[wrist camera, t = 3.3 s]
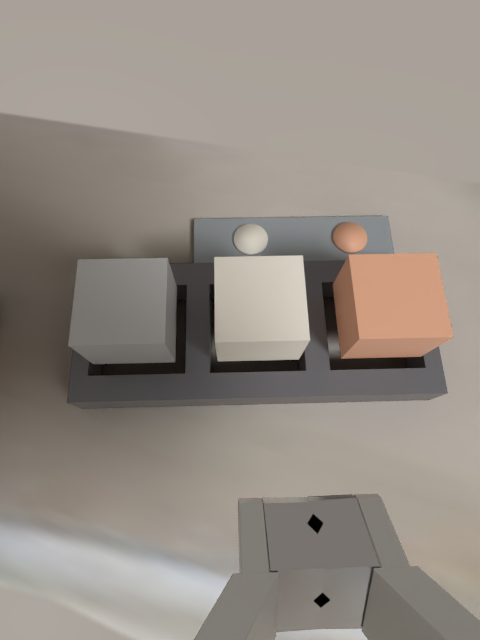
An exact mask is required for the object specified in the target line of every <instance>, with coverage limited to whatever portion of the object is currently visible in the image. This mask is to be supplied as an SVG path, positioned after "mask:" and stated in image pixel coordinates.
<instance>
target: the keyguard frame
mask: <svg viewBox="0 0 480 640" xmlns="http://www.w3.org/2000/svg"><path fill="white" fill-rule="evenodd" d="M345 261H346V260H329V261H303V263H304V274H305V286H306V298H307V309H308V321H309V333H310V341H309V343H308V345H307V346H306V348H305V350H304V352H303V353H302V355H301V357H300V358H299V371H273V372H230V373H212V300H214V299H215V293H214V263H170V267H171V270H172V273H173V276H174V279H175V282H176V286H177V300H187V307H186V365H185V374H144V375H101V374H102V364H92V363H91V362H90V361H88V360H87V359H86V358H84V357H83V356H81V355H80V354H79V353H77V352H76V351H75V350H73V354H72V363H71V372H70V381H69V390H68V399H67V403H69V404H72V405H74V406H77V407H80V408H82V409H87V408H127V407H167V406H207V405H247V404H287V403H327V402H368V401H408V400H430V399H433V398H436V397H438V396H441V395H444V394H447V393H448V392H447V387H446V382H445V376H444V371H443V366H442V361H441V356H440V350H439V346H438V347H436V348H435V349H433V350H431V351H430V352H428V353H426V354H425V355H423V356H421V357H406V361H407V367H408V368H401V369H358V370H330V362H329V352H328V342H327V332H326V322H325V312H324V302H323V297H334V291H333V283H334V281H335V280H336V278H337V276H338V274H339V272H340V270H341V268H342V266H343V265H344V263H345Z"/></svg>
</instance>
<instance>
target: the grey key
mask: <svg viewBox="0 0 480 640" xmlns="http://www.w3.org/2000/svg"><path fill="white" fill-rule="evenodd" d="M176 314H177V286H176V282H175V279H174V276H173V273H172V270H171V267H170V263H169V260H168V258H127V259H78V263H77V272H76V280H75V289H74V298H73V307H72V316H71V324H70V333H69V342H68V346H69V347H71V348H72V349H73V350H75V351H76V352H77V353H79V354H80V355H81V356H83V357H84V358H86V359H87V360H88V361H90V362H91V363H92V364H126V363H170V362H175V353H176Z"/></svg>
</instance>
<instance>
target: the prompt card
mask: <svg viewBox="0 0 480 640" xmlns="http://www.w3.org/2000/svg"><path fill="white" fill-rule="evenodd" d="M353 254H394V248H393V243H392V237H391V231H390V225H389V219H388V216H346V217H283V218H220V219H194V263H214V257H240V256H297V255H303V261H329V260H346V259H347V257H348V255H353Z"/></svg>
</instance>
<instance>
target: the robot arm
mask: <svg viewBox="0 0 480 640" xmlns="http://www.w3.org/2000/svg"><path fill="white" fill-rule="evenodd" d="M238 532H239V573H237V574H233V575H232V576H231V578H230V580H229V581H228V583H227V585H226V586H225V588H224V590H223V591H222V593H221V595H220V596H219V598H218V600H217V602H216V603H215V605H214V607H213V608H212V610H211V612H210V613H209V615H208V617H207V618H206V620H205V622H204V623H203V625H202V627H201V628H200V630H199V632H198V634H197V635H196V637H195V639H194V640H274V639H275V637H276V632H285V631H298V630H312V629H359V628H362V632H363V633H364V635H365V636H366V637H367V639H368V640H480V621H479V620H478V619H477V618H476V617H475V616H474V615H473V614H471V613H470V612H469V611H468V610H467V609H466V608H465V607H463V606H462V605H461V604H460V603H459V602H458V601H457V600H455V599H454V598H453V597H452V596H451V595H450V594H449V593H448V592H446V591H445V590H444V589H443V588H442V587H441V586H440V585H438V584H437V583H436V582H435V581H434V580H433V579H432V578H430V577H429V576H428V575H427V574H426V573H425V572H424V571H423V570H421V569H420V568H419V567H418V566H410V565H409V562H408V560H407V558H406V555H405V553H404V550H403V548H402V546H401V543H400V541H399V539H398V536H397V534H396V531H395V529H394V527H393V524H392V522H391V520H390V517H389V515H388V513H387V510H386V508H385V505H384V503H383V501H382V498H381V497H380V496H379V495H378V494H359V495H352V494H350V495H330V496H310V497H293V498H239V499H238Z"/></svg>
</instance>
